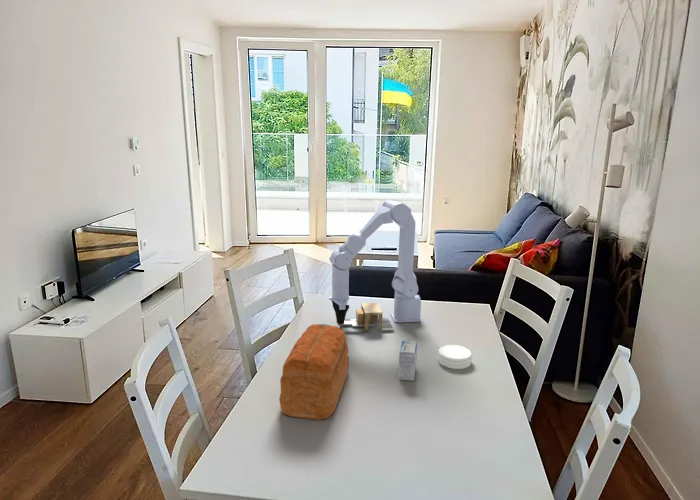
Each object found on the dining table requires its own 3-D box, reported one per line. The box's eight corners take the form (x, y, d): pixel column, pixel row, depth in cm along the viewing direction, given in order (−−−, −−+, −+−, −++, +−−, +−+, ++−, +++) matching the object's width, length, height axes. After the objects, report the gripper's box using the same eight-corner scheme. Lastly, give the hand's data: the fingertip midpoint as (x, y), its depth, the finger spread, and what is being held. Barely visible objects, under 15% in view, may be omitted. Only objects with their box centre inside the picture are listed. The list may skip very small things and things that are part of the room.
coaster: (457, 373, 140) (457, 362, 139) (430, 360, 147) (431, 350, 146) (478, 363, 146) (479, 352, 145) (451, 351, 153) (452, 341, 152)
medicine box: (414, 381, 135) (415, 353, 132) (398, 379, 136) (399, 351, 133) (416, 368, 142) (417, 341, 140) (400, 366, 143) (402, 339, 141)
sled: (372, 319, 173) (373, 307, 172) (375, 326, 168) (375, 313, 167) (335, 321, 172) (335, 309, 171) (337, 327, 166) (337, 315, 165)
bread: (350, 368, 141) (351, 321, 138) (331, 422, 116) (332, 365, 112) (304, 364, 144) (304, 317, 140) (276, 416, 118) (274, 360, 114)
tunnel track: (387, 319, 177) (388, 301, 175) (393, 332, 166) (394, 313, 165) (338, 321, 175) (338, 303, 173) (341, 334, 164) (342, 314, 162)
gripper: (327, 278, 172) (327, 313, 175) (330, 292, 158) (330, 330, 162) (346, 277, 173) (346, 313, 176) (351, 291, 159) (351, 329, 162)
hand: (340, 321), depth 169 cm, fingers closed on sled, 3 cm apart
